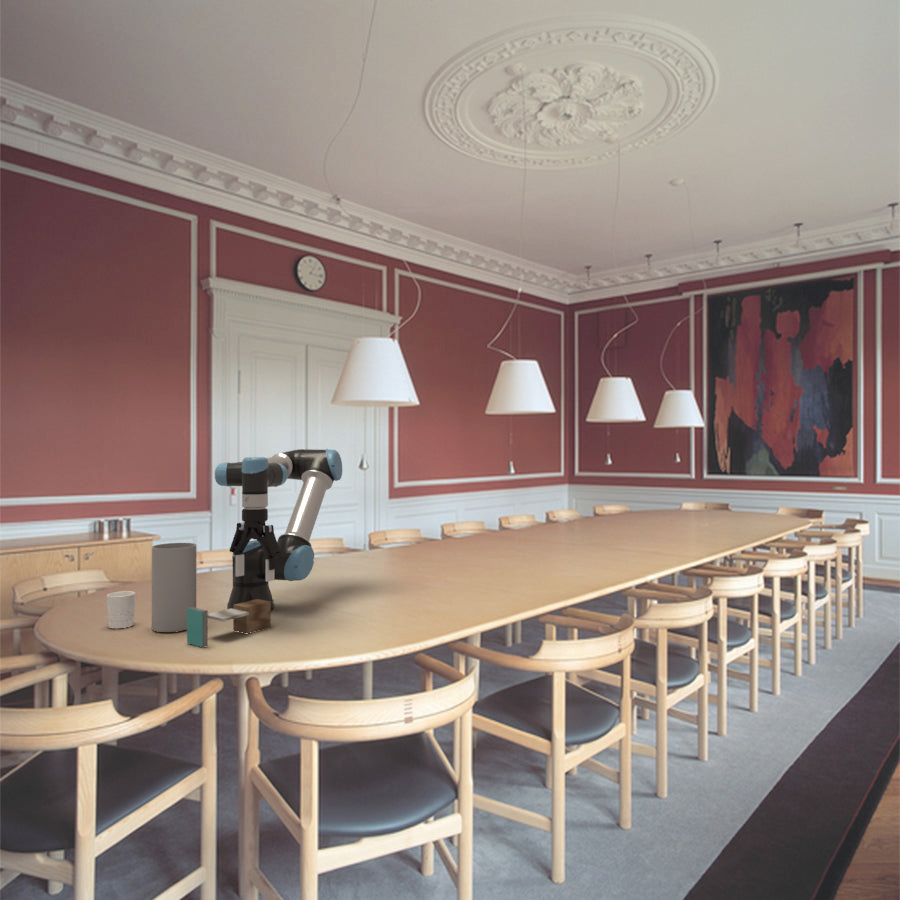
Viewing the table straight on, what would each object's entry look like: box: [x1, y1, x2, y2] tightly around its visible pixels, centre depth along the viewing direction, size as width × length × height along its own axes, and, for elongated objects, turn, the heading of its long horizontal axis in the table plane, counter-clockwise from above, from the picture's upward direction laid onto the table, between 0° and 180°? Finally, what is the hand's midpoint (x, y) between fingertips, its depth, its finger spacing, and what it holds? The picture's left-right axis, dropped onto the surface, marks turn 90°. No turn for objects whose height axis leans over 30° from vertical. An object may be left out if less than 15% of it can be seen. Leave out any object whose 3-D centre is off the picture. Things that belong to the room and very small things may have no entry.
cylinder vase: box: [151, 542, 197, 633], centre depth 198 cm, size 12×12×25 cm
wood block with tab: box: [208, 599, 272, 633], centre depth 193 cm, size 18×8×8 cm, turn 147°
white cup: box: [106, 590, 136, 629], centre depth 200 cm, size 8×8×10 cm
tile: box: [186, 607, 209, 648], centre depth 181 cm, size 7×2×10 cm, turn 57°
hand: (254, 578), depth 198 cm, fingers open, 13 cm apart
